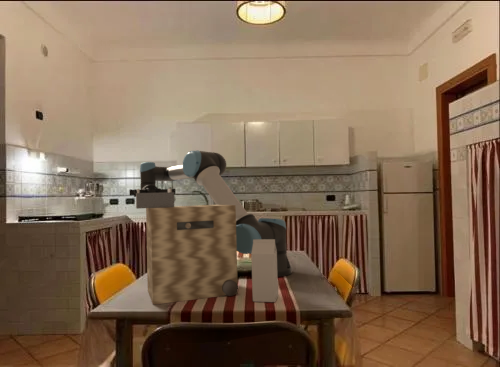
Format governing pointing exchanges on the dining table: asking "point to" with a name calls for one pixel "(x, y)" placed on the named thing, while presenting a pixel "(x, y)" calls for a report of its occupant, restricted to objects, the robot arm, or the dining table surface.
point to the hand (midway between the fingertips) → (154, 191)
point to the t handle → (154, 200)
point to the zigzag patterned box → (191, 252)
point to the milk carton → (264, 270)
